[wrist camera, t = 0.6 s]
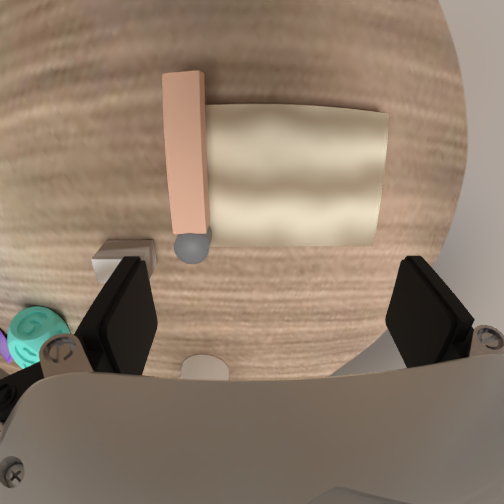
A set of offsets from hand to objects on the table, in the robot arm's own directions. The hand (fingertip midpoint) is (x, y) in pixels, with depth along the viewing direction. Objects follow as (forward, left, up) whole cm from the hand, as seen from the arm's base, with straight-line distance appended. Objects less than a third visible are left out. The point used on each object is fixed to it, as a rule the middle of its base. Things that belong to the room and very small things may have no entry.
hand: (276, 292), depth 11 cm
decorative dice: (+23, -33, -22) cm, 46 cm away
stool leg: (0, -6, -19) cm, 20 cm away
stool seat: (+3, -3, -22) cm, 22 cm away
